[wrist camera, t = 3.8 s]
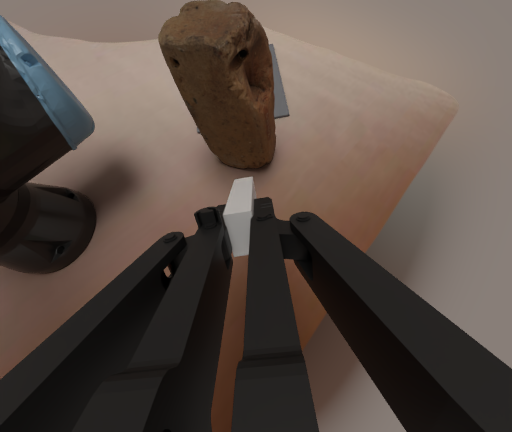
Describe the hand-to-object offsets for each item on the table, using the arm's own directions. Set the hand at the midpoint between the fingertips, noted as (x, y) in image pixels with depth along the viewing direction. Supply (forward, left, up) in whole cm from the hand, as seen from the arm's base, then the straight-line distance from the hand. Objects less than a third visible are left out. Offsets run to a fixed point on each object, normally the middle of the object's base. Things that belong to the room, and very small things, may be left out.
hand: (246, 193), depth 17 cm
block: (-1, +16, -16) cm, 22 cm away
